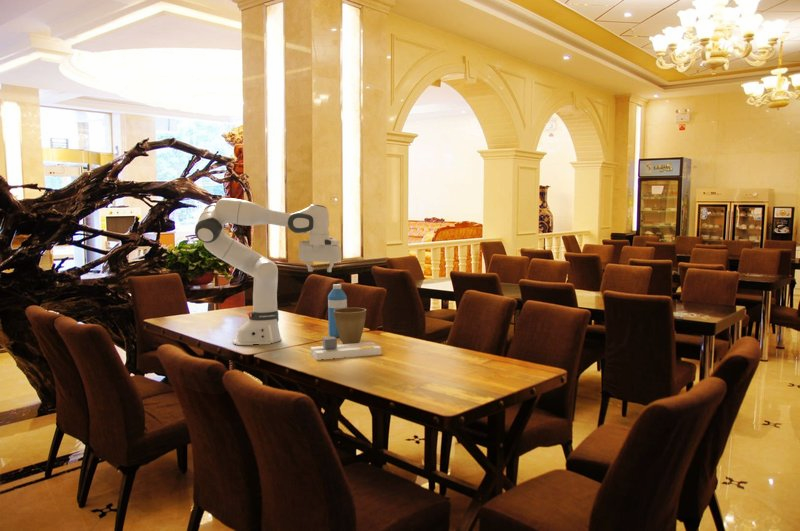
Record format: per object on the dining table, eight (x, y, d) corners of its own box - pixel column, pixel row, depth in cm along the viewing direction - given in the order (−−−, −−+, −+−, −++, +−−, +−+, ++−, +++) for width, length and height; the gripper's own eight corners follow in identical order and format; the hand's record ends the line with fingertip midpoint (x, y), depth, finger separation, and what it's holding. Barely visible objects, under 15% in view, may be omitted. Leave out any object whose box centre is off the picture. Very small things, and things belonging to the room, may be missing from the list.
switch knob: (325, 353, 260) (325, 339, 259) (322, 350, 265) (322, 337, 264) (336, 352, 262) (336, 338, 261) (334, 349, 266) (333, 336, 266)
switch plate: (316, 360, 255) (316, 352, 255) (310, 353, 267) (310, 346, 266) (381, 354, 265) (381, 346, 265) (372, 348, 276) (372, 341, 276)
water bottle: (349, 333, 311) (348, 283, 308) (345, 336, 301) (344, 285, 299) (330, 332, 312) (329, 283, 309) (326, 336, 302) (325, 285, 300)
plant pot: (363, 340, 294) (363, 306, 292) (369, 346, 279) (368, 311, 278) (332, 341, 291) (331, 307, 289) (336, 348, 276) (335, 313, 275)
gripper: (295, 240, 278) (296, 271, 279) (336, 241, 271) (336, 272, 272) (302, 240, 284) (302, 270, 285) (342, 240, 277) (343, 271, 278)
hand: (319, 271), depth 279 cm, fingers open, 8 cm apart
